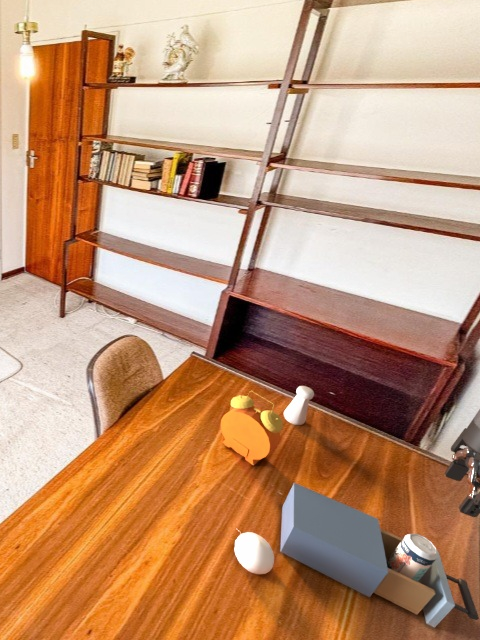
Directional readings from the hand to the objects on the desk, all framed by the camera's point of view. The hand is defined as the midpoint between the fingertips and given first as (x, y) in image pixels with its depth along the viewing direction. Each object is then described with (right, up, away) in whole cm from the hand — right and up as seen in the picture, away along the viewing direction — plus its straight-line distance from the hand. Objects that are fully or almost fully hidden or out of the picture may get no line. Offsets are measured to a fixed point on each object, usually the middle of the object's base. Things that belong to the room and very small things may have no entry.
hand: (458, 494), depth 73 cm
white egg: (-32, -21, +13) cm, 41 cm away
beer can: (-4, -22, +8) cm, 24 cm away
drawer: (-4, -23, +8) cm, 25 cm away
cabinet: (-15, -20, +15) cm, 29 cm away
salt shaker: (+3, -5, +50) cm, 50 cm away
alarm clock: (-19, -9, +39) cm, 44 cm away
